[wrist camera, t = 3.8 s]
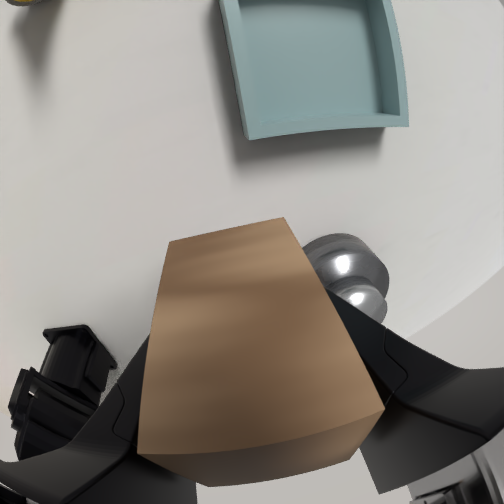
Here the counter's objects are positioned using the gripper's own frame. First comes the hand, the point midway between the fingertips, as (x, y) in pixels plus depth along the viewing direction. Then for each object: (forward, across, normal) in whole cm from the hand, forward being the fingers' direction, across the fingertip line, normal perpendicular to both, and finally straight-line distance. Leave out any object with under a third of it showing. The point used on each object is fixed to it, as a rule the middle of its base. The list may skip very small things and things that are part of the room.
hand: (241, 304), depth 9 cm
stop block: (+2, 0, 0) cm, 2 cm away
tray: (+10, -7, -9) cm, 15 cm away
